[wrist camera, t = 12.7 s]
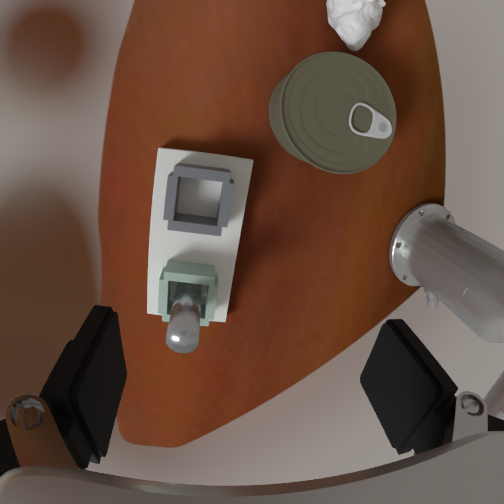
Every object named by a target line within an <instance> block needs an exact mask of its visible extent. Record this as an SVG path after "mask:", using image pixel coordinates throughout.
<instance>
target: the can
mask: <svg viewBox="0 0 504 504" xmlns="http://www.w3.org/2000/svg"><path fill="white" fill-rule="evenodd" d="M269 120H270V125H271V128H272V131H273V133H274V135H275V137H276V139H277V140H278V142H279V143H280V144H281V146H282V147H283V148H284V149H285V150H286V151H287V152H289V153H290V154H291V155H293V156H294V157H296V158H298V159H300V160H302V161H305V162H308V163H310V164H311V165H313V166H315V167H317V168H319V169H321V170H324V171H327V172H331V173H336V174H351V173H356V172H360V171H363V170H365V169H367V168H369V167H371V166H372V165H374V164H375V163H376V162H378V161H379V160H380V159H381V158H382V157H383V156H384V154H385V153H386V152H387V150H388V149H389V147H390V145H391V143H392V140H393V138H394V134H395V130H396V123H397V114H396V106H395V102H394V98H393V95H392V93H391V90H390V88H389V86H388V85H387V83H386V81H385V80H384V79H383V77H382V76H381V75H380V74H379V72H378V71H377V70H376V69H375V68H373V67H372V66H371V65H370V64H368V63H367V62H365V61H364V60H362V59H360V58H358V57H356V56H354V55H351V54H347V53H343V52H322V53H318V54H315V55H312V56H310V57H308V58H306V59H304V60H303V61H301V62H300V63H299V64H298V65H296V66H295V67H294V69H293V70H292V71H291V72H290V73H289V74H288V75H286V76H285V77H284V78H283V79H282V80H281V81H280V82H279V83H278V85H277V86H276V88H275V89H274V91H273V93H272V96H271V99H270V104H269Z"/></svg>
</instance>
